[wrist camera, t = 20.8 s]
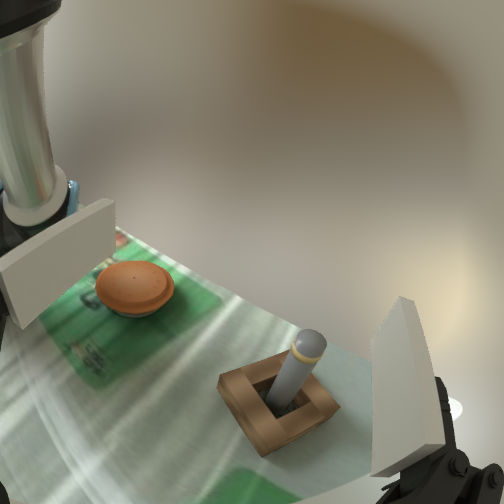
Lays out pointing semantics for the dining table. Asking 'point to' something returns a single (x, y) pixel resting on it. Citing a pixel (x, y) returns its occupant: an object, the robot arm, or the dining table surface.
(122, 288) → the pie
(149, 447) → the dining table surface
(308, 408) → the wooden square frame
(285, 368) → the gray cylinder
